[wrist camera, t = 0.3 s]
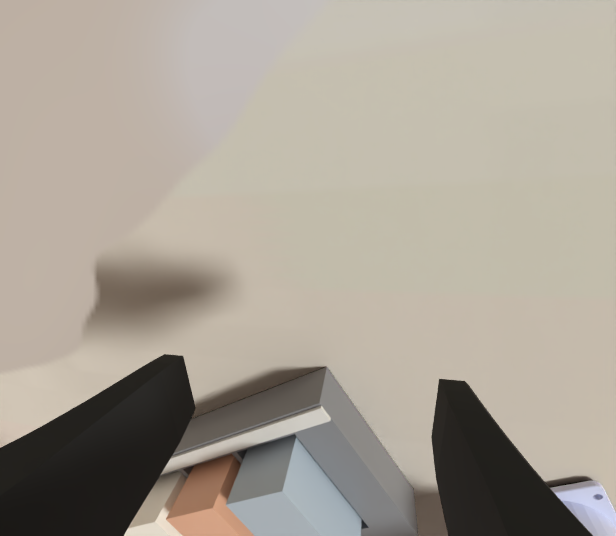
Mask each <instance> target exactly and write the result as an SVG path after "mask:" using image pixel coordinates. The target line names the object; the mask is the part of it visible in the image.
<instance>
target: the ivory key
mask: <svg viewBox="0 0 616 536" xmlns="http://www.w3.org/2000/svg"><path fill="white" fill-rule="evenodd" d="M186 480H187V478H186V477H185V476H184V475H183V474H182V473H181V472H180V471H175V472H172V473H169V474H166V475H163V476H160V477H159V478H158V480H157V481H156V483H155V485H154V486H153V488H152V490H151V491H150V493H149V494H148V496H147V498H146V499H145V501H144V503H143V504H142V506H141V507H140V509H139V511H138V512H137V514H136V516H135V517H134V519H133V521H132V522H131V524H130V525H129V527H128V529H127V531H126V533H125V534H124V536H182V535H181V534H180V533H179V532H178V531H177V530H176V529H175V528H174V527H173V526H172V525H171V524H170V523H169V522H168V521H167V520H166V518H167V516H168V514H169V512H170V510H171V508H172V507H173V505H174V503H175V501H176V499H177V497H178V495H179V493H180V491H181V490H182V488H183V486H184V484H185V482H186Z"/></svg>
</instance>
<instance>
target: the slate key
mask: <svg viewBox="0 0 616 536" xmlns="http://www.w3.org/2000/svg"><path fill="white" fill-rule="evenodd" d="M226 506H227V507H228V508H229V509H230V510H231V511H232V512H233V513H234V514H235V516H236V517H237V518H238V519H239V520H240V521H241V522H242V523H243V524H244V525H245V526H246V527H247V528H248V529H249V530H250V531H251V532H252V534H253V535H254V536H361V521H362V518H361V517H360V516H359V514H358V513H357V512H356V511H355V509H354V508H353V507H352V506H351V504H350V503H349V502H348V501H347V499H346V498H345V497H344V495H343V494H342V493H341V492H340V490H339V489H338V488H337V487H336V485H335V484H334V483H333V482H332V480H331V479H330V478H329V477H328V475H327V474H326V473H325V472H324V470H323V469H322V468H321V467H320V465H319V464H318V463H317V462H316V460H315V459H314V458H313V457H312V455H311V454H310V453H309V451H308V450H307V449H306V448H305V446H304V445H303V444H302V443H301V441H300V440H299V439H298V438H297V436H296V435H295V434H293V435H290V436H287V437H284V438H281V439H277V440H274V441H271V442H268V443H265V444H261V445H258V446H255V447H252V448H249V449H247V452H246V454H245V457H244V459H243V462H242V464H241V467H240V469H239V472H238V474H237V477H236V480H235V482H234V485H233V487H232V490H231V492H230V495H229V497H228V500H227V502H226Z"/></svg>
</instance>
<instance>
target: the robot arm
mask: <svg viewBox="0 0 616 536" xmlns="http://www.w3.org/2000/svg"><path fill="white" fill-rule="evenodd" d="M194 411H195V404H194V400H193V396H192V391H191V387H190V383H189V379H188V375H187V371H186V366H185V362H184V358H183V356H177V355H166V354H164V355H163V356H161V357H159V358H157V359H155V360H153V361H152V362H150V363H148V364H146V365H145V366H143V367H141V368H140V369H138V370H136V371H135V372H133V373H132V374H130V375H128V376H127V377H125V378H123V379H122V380H120V381H118V382H117V383H115V384H113V385H112V386H110V387H109V388H107V389H105V390H104V391H102V392H100V393H99V394H97V395H95V396H94V397H92V398H90V399H89V400H87V401H85V402H84V403H82V404H80V405H78V406H77V407H75V408H73V409H71V410H70V411H68V412H66V413H64V414H63V415H61V416H59V417H57V418H56V419H54V420H52V421H50V422H49V423H47V424H45V425H43V426H42V427H40V428H38V429H36V430H34V431H32V432H30V433H29V434H27V435H25V436H23V437H21V438H19V439H17V440H15V441H13V442H11V443H9V444H7V445H5V446H3V447H1V448H0V536H124V534H125V533H126V531H127V529H128V527H129V525H130V524H131V522H132V521H133V519H134V517H135V516H136V514H137V512H138V511H139V509H140V507H141V506H142V504H143V503H144V501H145V499H146V498H147V496H148V494H149V493H150V491H151V490H152V488H153V486H154V485H155V483H156V481H157V480H158V478H159V477H160V475H161V473H162V472H163V470H164V468H165V467H166V465H167V463H168V462H169V460H170V458H171V457H172V455H173V453H174V452H175V450H176V448H177V447H178V445H179V443H180V441H181V439H182V437H183V435H184V433H185V431H186V429H187V427H188V424H189V422H190V420H191V418H192V415H193V413H194ZM432 446H433V455H434V464H435V472H436V480H437V485H438V490H439V494H440V499H441V504H442V508H443V513H444V518H445V522H446V527H447V531H448V536H616V512H615V510H614V508H613V506H612V504H611V502H610V500H609V498H608V496H607V494H606V492H605V490H604V488H603V487H602V485H601V484H600V483H599V482H597V481H593V480H592V481H585V482H579V483H574V484H568V485H563V486H557V487H551V488H549V486H548V485H547V484H546V483H545V482H544V481H543V479H542V478H541V477H540V476H539V475H538V474H537V472H536V471H535V470H534V469H533V468H532V467H531V465H530V464H529V463H528V462H527V460H526V459H525V458H524V457H523V456H522V454H521V453H520V452H519V451H518V449H517V448H516V447H515V446H514V444H513V443H512V442H511V441H510V440H509V438H508V437H507V436H506V434H505V433H504V432H503V431H502V429H501V428H500V427H499V425H498V424H497V423H496V422H495V420H494V419H493V418H492V416H491V415H490V414H489V412H488V411H487V410H486V408H485V407H484V406H483V404H482V403H481V401H480V400H479V399H478V397H477V396H476V395H475V393H474V392H473V390H472V389H471V388H470V386H469V385H468V384H467V383H466V382H465V381H457V380H445V379H439V385H438V393H437V400H436V408H435V415H434V423H433V430H432Z"/></svg>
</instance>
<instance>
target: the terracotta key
mask: <svg viewBox="0 0 616 536" xmlns="http://www.w3.org/2000/svg"><path fill="white" fill-rule="evenodd" d="M240 467H241V464H240V462H239V461H238V460H237V459H236V458H235V457H234V456H233V455H232V454H230V455H226V456H223V457H220V458H217V459H214V460H210V461H207V462H204V463H201V464H198V465H194V467H193V469H192V471H191V472H190V474H189V476H188V478H187V480H186V482H185V484H184V486H183V488H182V490H181V491H180V493H179V495H178V497H177V499H176V501H175V503H174V505H173V507H172V508H171V510H170V512H169V514H168V516H167V518H166V520H167V521H168V522H169V523H170V524H171V525H172V526H173V527H174V528H175V529H176V530H177V531H178V532H179V533H180V534H181V535H182V536H254V535H253V534H252V532H251V531H250V530H249V529H248V528H247V527H246V526H245V525H244V524H243V523H242V522H241V521H240V520H239V519H238V518H237V517H236V516H235V514H234V513H233V512H232V511H231V510H230V509H229V508H228V507H227V506H226V502H227V500H228V497H229V495H230V492H231V490H232V487H233V485H234V482H235V480H236V477H237V474H238V472H239V469H240Z"/></svg>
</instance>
